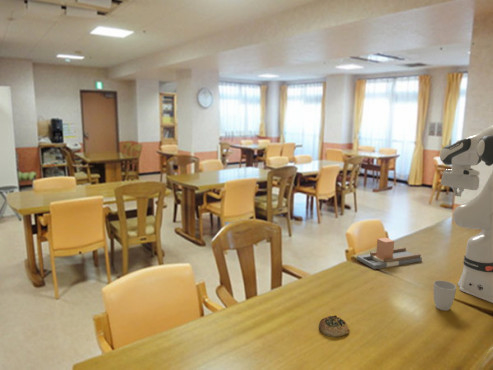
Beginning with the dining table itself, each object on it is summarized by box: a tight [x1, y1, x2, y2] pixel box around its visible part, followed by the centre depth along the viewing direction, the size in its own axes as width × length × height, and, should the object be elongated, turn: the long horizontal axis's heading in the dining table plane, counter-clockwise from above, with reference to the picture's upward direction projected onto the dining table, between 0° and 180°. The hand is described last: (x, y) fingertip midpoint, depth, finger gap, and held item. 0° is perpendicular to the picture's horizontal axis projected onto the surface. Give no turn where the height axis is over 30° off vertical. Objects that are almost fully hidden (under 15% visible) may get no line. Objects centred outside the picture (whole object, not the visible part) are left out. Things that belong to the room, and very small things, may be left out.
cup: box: [433, 280, 457, 312], centre depth 150 cm, size 8×8×10 cm
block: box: [376, 237, 395, 260], centre depth 198 cm, size 6×6×10 cm
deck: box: [356, 246, 423, 270], centre depth 200 cm, size 14×32×4 cm, turn 111°
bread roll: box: [318, 314, 351, 338], centre depth 134 cm, size 11×11×5 cm
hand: (457, 196), depth 197 cm, fingers closed
